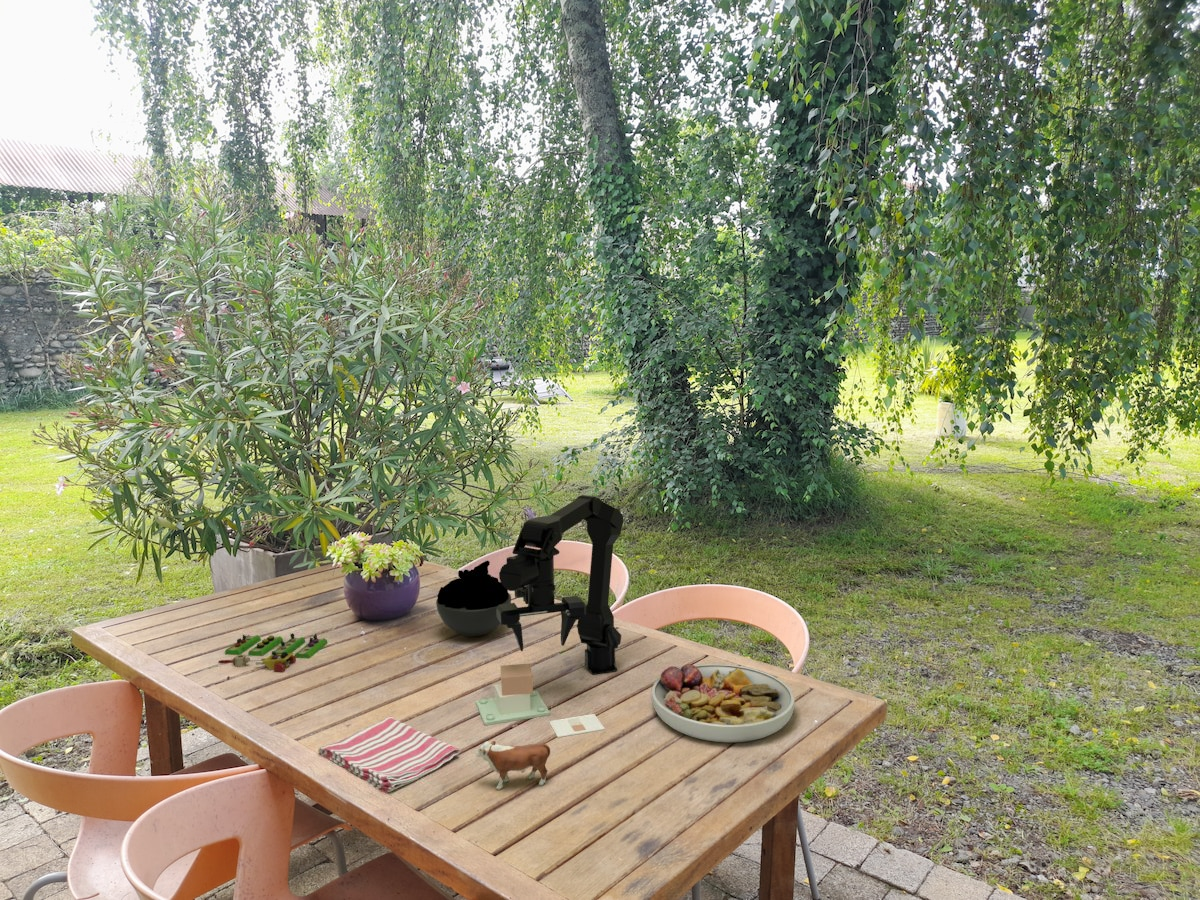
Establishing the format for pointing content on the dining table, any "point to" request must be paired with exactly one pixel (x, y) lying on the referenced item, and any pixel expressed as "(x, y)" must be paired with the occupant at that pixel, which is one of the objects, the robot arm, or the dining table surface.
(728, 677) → the bowl
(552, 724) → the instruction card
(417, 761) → the dish towel
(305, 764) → the dining table surface
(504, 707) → the cream brick
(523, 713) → the plate
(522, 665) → the terracotta brick
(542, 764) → the bull figurine
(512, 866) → the dining table surface
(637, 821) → the dining table surface
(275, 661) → the toy garden set
